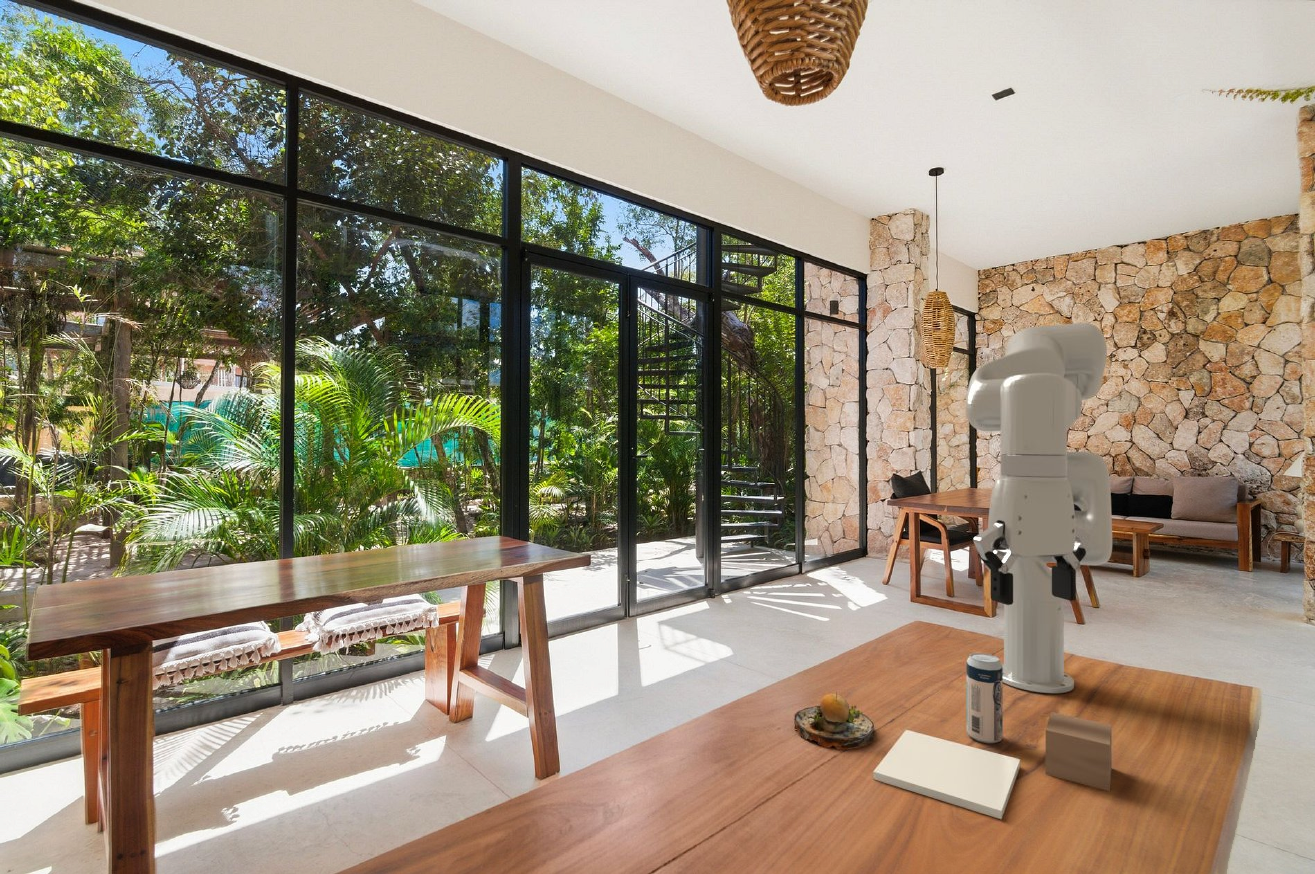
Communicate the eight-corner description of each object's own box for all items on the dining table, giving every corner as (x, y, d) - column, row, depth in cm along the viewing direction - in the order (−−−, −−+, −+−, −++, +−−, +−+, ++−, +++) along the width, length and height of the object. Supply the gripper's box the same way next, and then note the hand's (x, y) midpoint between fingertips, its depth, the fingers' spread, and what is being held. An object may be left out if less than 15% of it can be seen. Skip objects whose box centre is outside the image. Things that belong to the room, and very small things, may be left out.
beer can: (1007, 746, 94) (1007, 664, 94) (971, 743, 94) (971, 661, 94) (996, 731, 98) (996, 653, 98) (962, 729, 99) (962, 651, 99)
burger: (878, 724, 102) (878, 676, 102) (869, 757, 91) (869, 704, 91) (802, 710, 107) (802, 665, 107) (785, 740, 96) (785, 690, 96)
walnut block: (1051, 754, 92) (1051, 711, 92) (1111, 769, 88) (1111, 724, 88) (1045, 774, 86) (1045, 729, 86) (1109, 792, 82) (1109, 744, 82)
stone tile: (906, 736, 97) (906, 729, 97) (1019, 766, 88) (1020, 759, 88) (873, 779, 85) (873, 771, 85) (1001, 819, 76) (1001, 810, 76)
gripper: (1062, 467, 90) (1063, 590, 90) (956, 468, 86) (956, 597, 86) (1112, 469, 83) (1112, 603, 83) (998, 470, 79) (998, 611, 78)
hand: (1033, 600), depth 84 cm, fingers open, 9 cm apart
